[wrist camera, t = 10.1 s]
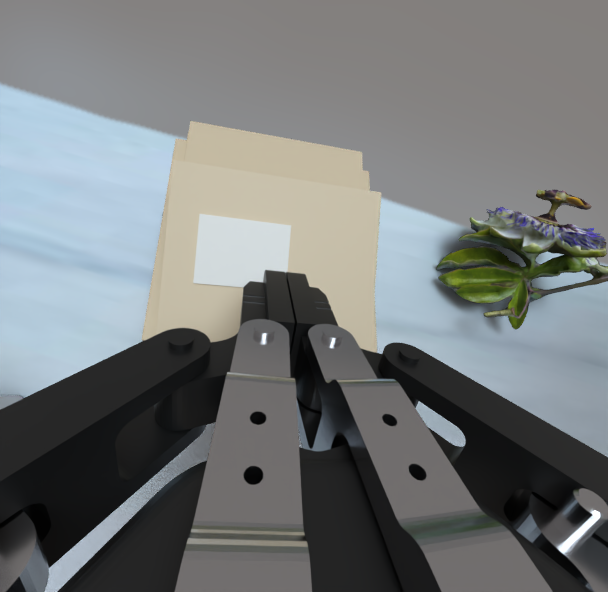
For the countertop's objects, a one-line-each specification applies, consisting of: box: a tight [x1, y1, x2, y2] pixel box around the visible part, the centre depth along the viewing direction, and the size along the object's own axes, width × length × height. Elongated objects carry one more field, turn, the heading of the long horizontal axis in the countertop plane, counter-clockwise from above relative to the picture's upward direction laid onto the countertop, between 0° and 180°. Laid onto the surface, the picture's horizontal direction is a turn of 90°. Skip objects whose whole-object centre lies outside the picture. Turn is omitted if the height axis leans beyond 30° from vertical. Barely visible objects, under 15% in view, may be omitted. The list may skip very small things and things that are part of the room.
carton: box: [142, 121, 377, 353], centre depth 21 cm, size 11×12×11 cm
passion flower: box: [437, 190, 608, 329], centre depth 29 cm, size 11×11×12 cm
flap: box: [156, 160, 381, 351], centre depth 15 cm, size 10×8×1 cm
